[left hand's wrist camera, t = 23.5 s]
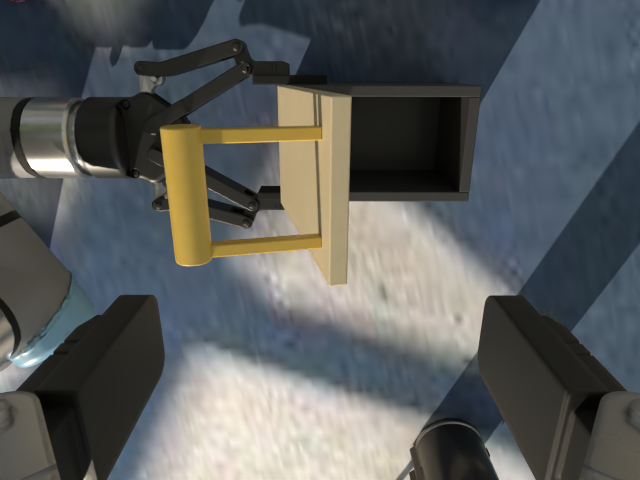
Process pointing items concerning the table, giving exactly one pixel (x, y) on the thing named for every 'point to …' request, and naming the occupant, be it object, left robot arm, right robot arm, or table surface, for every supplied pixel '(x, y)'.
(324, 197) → the lid
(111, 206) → the table surface
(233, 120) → the table surface
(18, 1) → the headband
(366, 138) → the chest
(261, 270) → the table surface
